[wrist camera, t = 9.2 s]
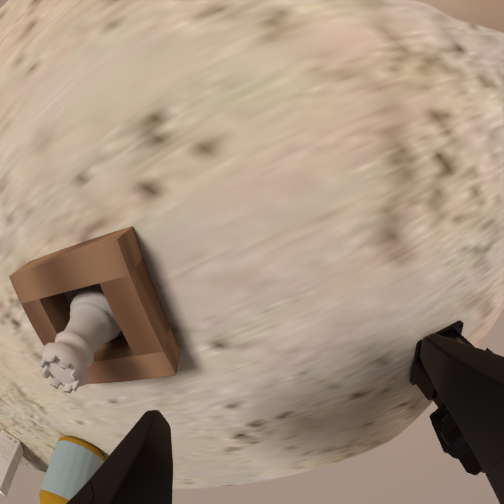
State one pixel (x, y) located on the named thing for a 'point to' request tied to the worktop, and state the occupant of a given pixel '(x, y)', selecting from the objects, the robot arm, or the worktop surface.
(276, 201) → the worktop surface
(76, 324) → the rook chess piece
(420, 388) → the robot arm
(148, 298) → the socket
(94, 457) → the bottle
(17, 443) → the skincare box
